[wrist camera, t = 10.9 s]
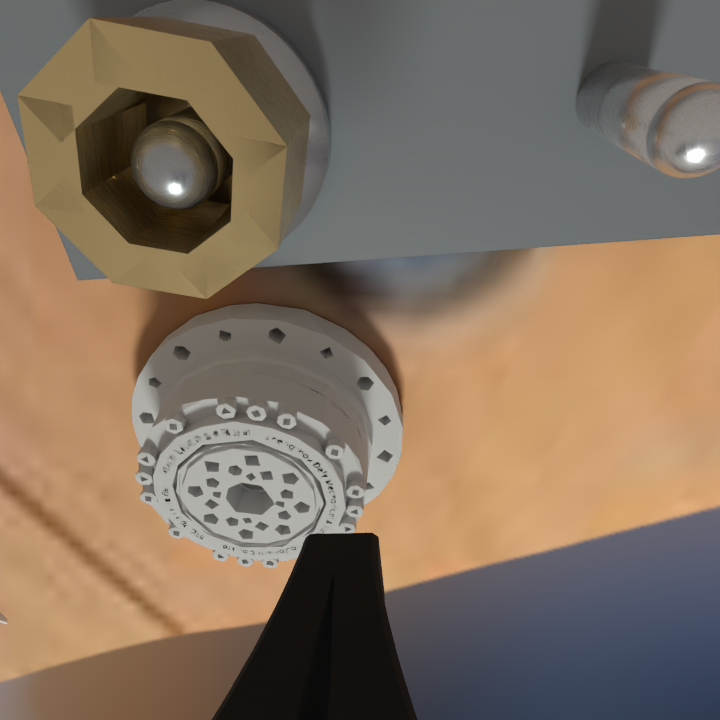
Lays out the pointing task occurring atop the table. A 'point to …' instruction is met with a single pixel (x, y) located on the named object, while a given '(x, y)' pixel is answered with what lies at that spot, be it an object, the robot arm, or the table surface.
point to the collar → (129, 118)
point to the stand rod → (654, 116)
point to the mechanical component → (263, 430)
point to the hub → (197, 142)
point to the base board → (451, 119)
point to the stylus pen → (3, 619)
